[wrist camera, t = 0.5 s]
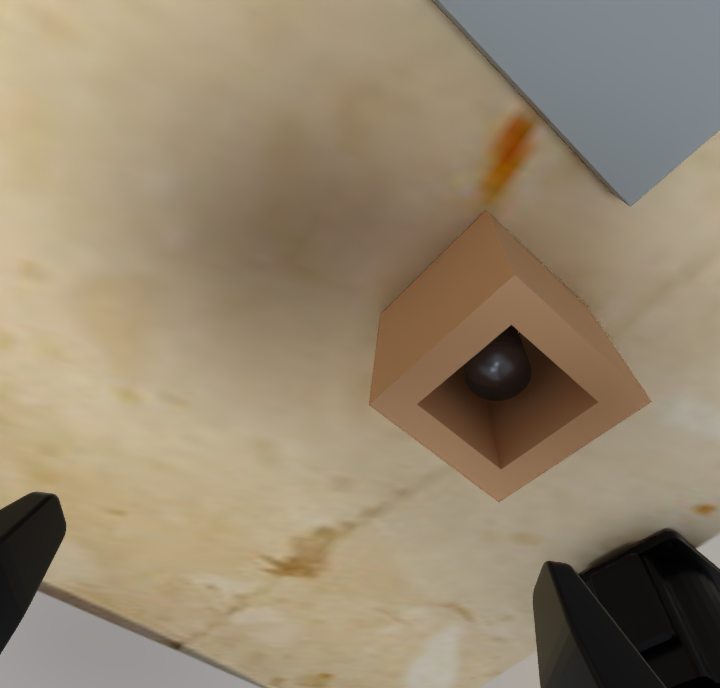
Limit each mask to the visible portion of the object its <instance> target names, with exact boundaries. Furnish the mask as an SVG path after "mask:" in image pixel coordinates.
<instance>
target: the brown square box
mask: <svg viewBox="0 0 720 688" xmlns="http://www.w3.org/2000/svg"><path fill="white" fill-rule="evenodd" d="M511 325H512V326H513V327H515V328H516V329H517V330H518V331H519V332H520V333H521V334H519V336H520V339H521V341H522V344H523V347H524V349H525V352H526V355H527V358H528V360H529V363H530V366H531V379H530V381H529V383H528V385H527V387H526V388H525V389H524V390H523V391H522V392H521V393H520V394H518V395H517V396H515V397H513V398H510V399H507V400H502V401H491V400H486V399H483V398H481V397H479V396H477V395H476V394H474V393H473V392H472V391H471V389H470V388H469V386H468V384H467V381H466V375H465V369H464V364H465V363H466V362H468V361H469V360H470V359H471V358H472V357H474V356H475V355H476V354H477V353H478V352H480V351H481V350H482V349H483V348H484V347H486V346H487V345H488V344H489V343H490V342H491V341H493V340H494V339H495V338H496V337H497V336H499V335H500V334H501V333H502V332H503V331H505V330H506V329H507V328H508V327H509V326H511ZM650 402H652V401H651V400H650V398H649V397H648V396H647V394H646V393H645V391H644V390H643V388H642V387H641V385H640V384H639V382H638V381H637V379H636V378H635V376H634V375H633V373H632V372H631V370H630V369H629V367H628V366H627V365H626V363H625V362H624V360H623V359H622V357H621V356H620V354H619V353H618V351H617V350H616V348H615V347H614V345H613V344H612V342H611V341H610V339H609V338H608V337H607V335H606V334H605V332H604V331H603V329H602V328H601V326H600V325H599V323H598V322H597V320H596V319H595V317H594V316H593V314H592V313H591V311H590V310H589V308H588V307H587V306H585V305H584V304H583V303H582V302H581V301H580V300H579V299H578V298H577V297H576V296H575V295H574V294H573V293H572V292H571V291H570V290H569V289H568V288H567V287H566V286H565V285H564V284H562V283H561V282H560V281H559V280H558V279H557V278H556V277H555V276H554V275H553V274H552V273H551V272H550V271H549V270H548V269H547V268H546V267H545V266H544V265H543V264H542V263H541V262H540V261H538V260H537V259H536V258H535V257H534V256H533V255H532V254H531V253H530V252H529V251H528V250H527V249H526V248H525V247H524V246H523V245H522V244H521V243H520V242H519V241H518V240H517V239H516V238H514V237H513V236H512V235H511V234H510V233H509V232H508V231H507V230H506V229H505V228H504V227H503V226H502V225H501V224H500V223H499V222H498V221H497V220H496V219H495V218H494V217H493V216H491V215H490V214H489V213H488V212H487V211H485V212H484V213H483V214H481V215H480V216H479V217H478V218H477V219H476V220H475V221H474V222H473V223H472V224H471V225H470V226H469V227H468V228H467V229H466V230H465V231H464V232H463V233H462V234H461V235H460V236H459V237H458V238H457V239H456V240H455V241H454V242H453V243H452V244H451V245H450V246H449V247H448V248H447V249H446V250H445V251H444V252H443V253H442V254H441V255H440V256H439V257H438V258H437V259H436V260H435V261H434V262H433V263H432V264H431V265H430V266H429V267H428V268H427V269H426V270H425V271H424V272H423V273H422V274H421V275H420V276H419V277H418V278H417V279H416V280H415V281H414V282H413V283H412V284H411V285H410V286H409V287H408V288H407V289H406V290H405V291H404V292H403V293H402V294H401V295H400V296H399V297H398V298H397V299H396V300H395V301H394V302H393V303H392V304H391V305H390V306H389V307H388V308H387V309H386V310H385V311H384V312H383V313H382V314H381V315H380V321H379V329H378V337H377V345H376V353H375V361H374V368H373V376H372V384H371V392H370V400H369V405H370V406H371V407H373V408H374V409H375V410H377V411H378V412H379V413H381V414H382V415H383V416H385V417H386V418H387V419H389V420H390V421H391V422H393V423H394V424H395V425H397V426H398V427H399V428H401V429H402V430H403V431H405V432H406V433H407V434H409V435H410V436H411V437H413V438H414V439H415V440H417V441H418V442H419V443H421V444H422V445H423V446H425V447H426V448H427V449H429V450H430V451H431V452H432V453H434V454H435V455H436V456H438V457H439V458H440V459H442V460H443V461H444V462H446V463H447V464H448V465H450V466H451V467H452V468H454V469H455V470H456V471H458V472H459V473H460V474H462V475H463V476H464V477H466V478H467V479H468V480H470V481H471V482H472V483H474V484H475V485H476V486H478V487H479V488H480V489H482V490H483V491H484V492H486V493H487V494H488V495H490V496H491V497H492V498H494V499H495V500H496V501H498V502H500V501H501V500H503V499H504V498H506V497H507V496H509V495H510V494H512V493H513V492H515V491H517V490H518V489H520V488H521V487H523V486H524V485H526V484H527V483H529V482H530V481H532V480H533V479H535V478H536V477H538V476H539V475H541V474H542V473H544V472H545V471H547V470H548V469H550V468H551V467H553V466H554V465H556V464H558V463H559V462H561V461H562V460H564V459H565V458H567V457H568V456H570V455H571V454H573V453H574V452H576V451H577V450H579V449H580V448H582V447H583V446H585V445H586V444H588V443H589V442H591V441H592V440H594V439H596V438H597V437H599V436H600V435H602V434H603V433H605V432H606V431H608V430H609V429H611V428H612V427H614V426H615V425H617V424H618V423H620V422H621V421H623V420H624V419H626V418H627V417H629V416H630V415H632V414H633V413H635V412H637V411H638V410H640V409H641V408H643V407H644V406H646V405H647V404H649V403H650Z"/></svg>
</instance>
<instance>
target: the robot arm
mask: <svg viewBox="0 0 720 688" xmlns="http://www.w3.org/2000/svg"><path fill="white" fill-rule="evenodd" d="M65 532H66V521H65V518H64V514H63V511H62V508H61V504H60V501H59V498H58V497H57V496H56V495H55V494H51V493H44V492H32V493H30V494H27V495H26V496H24V497H22V498H20V499H19V500H17V501H15V502H13V503H11V504H10V505H8V506H6V507H4V508H2V509H1V510H0V654H1V652H2V651H3V649H4V647H5V646H6V644H7V643H8V641H9V640H10V638H11V636H12V635H13V633H14V632H15V630H16V628H17V627H18V625H19V623H20V622H21V620H22V618H23V617H24V614H25V613H26V611H27V609H28V607H29V605H30V604H31V602H32V600H33V597H34V596H35V594H36V592H37V590H38V588H39V586H40V584H41V582H42V580H43V578H44V576H45V574H46V572H47V570H48V568H49V566H50V564H51V562H52V560H53V558H54V556H55V554H56V552H57V550H58V548H59V546H60V544H61V542H62V540H63V538H64V536H65ZM533 610H534V621H535V632H536V643H537V654H538V664H539V676H540V685H541V688H720V569H719V568H718V567H717V566H715V565H714V564H713V563H712V562H710V561H709V560H708V559H707V558H706V557H705V556H703V555H702V554H701V553H700V552H698V551H697V550H696V549H695V548H694V547H693V546H692V545H690V544H689V543H688V542H687V541H686V540H684V539H683V538H682V537H681V536H680V535H678V534H677V533H675V532H664V533H662V534H660V535H658V536H656V537H654V538H652V539H650V540H648V541H647V542H645V543H643V544H641V545H639V546H637V547H635V548H633V549H632V550H630V551H628V552H626V553H624V554H622V555H620V556H618V557H616V558H615V559H613V560H611V561H609V562H607V563H605V564H603V565H601V566H599V567H598V568H596V569H594V570H592V571H590V572H588V573H586V574H584V575H582V576H581V577H579V575H578V574H577V573H576V571H575V570H574V569H573V568H572V567H571V566H570V565H569V564H566V563H561V562H553V561H546V562H545V563H544V564H543V566H542V569H541V572H540V574H539V577H538V580H537V583H536V585H535V588H534V592H533Z"/></svg>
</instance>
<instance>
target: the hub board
mask: <svg viewBox="0 0 720 688" xmlns="http://www.w3.org/2000/svg"><path fill="white" fill-rule="evenodd" d="M432 1H433V2H434V3H435V4H436V5H437V6H438V7H439V8H440V9H441V10H442V11H443V12H444V13H445V14H446V16H447V17H448V18H449V19H450V20H451V21H452V22H453V23H454V24H455V25H456V26H457V27H458V28H459V29H460V30H461V32H462V33H463V34H464V35H465V36H466V37H467V38H468V39H469V40H470V41H471V42H472V43H473V44H474V45H475V47H476V48H477V49H478V50H479V51H480V52H481V53H482V54H483V55H484V56H485V57H486V58H487V59H488V60H489V62H490V63H491V64H492V65H493V66H494V67H495V68H496V69H497V70H498V71H499V72H500V73H501V74H502V75H503V76H504V78H505V79H506V80H507V81H508V82H509V83H510V84H511V85H512V86H513V87H514V88H515V89H516V90H517V91H518V93H519V94H520V95H521V96H522V97H523V98H524V99H525V100H526V101H527V102H528V103H529V104H530V105H531V106H532V107H533V109H534V110H535V111H536V112H537V113H538V114H539V115H540V116H541V117H542V118H543V119H544V120H545V121H546V122H547V124H548V125H549V126H550V127H551V128H552V129H553V130H554V131H555V132H556V133H557V134H558V135H559V136H560V137H561V138H562V140H563V141H564V142H565V143H566V144H567V145H568V146H569V147H570V148H571V149H572V150H573V151H574V152H575V153H576V155H577V156H578V157H579V158H580V159H581V160H582V161H583V162H584V163H585V164H586V165H587V166H588V167H589V168H590V170H591V171H592V172H593V173H594V174H595V175H596V176H597V177H598V178H599V179H600V180H601V181H602V182H603V183H604V184H605V186H606V187H607V188H608V189H609V190H610V191H611V192H612V193H613V194H614V195H615V196H616V197H618V198H619V199H621V200H622V201H623V202H625V203H626V204H628V205H629V206H632V205H633V204H634V203H635V202H636V201H637V200H639V199H640V198H641V197H642V196H643V195H644V194H646V193H647V192H648V191H649V190H650V189H651V188H653V187H654V186H655V185H656V184H657V183H658V182H660V181H661V180H662V179H663V178H664V177H665V176H667V175H668V174H669V173H670V172H671V171H672V170H674V169H675V168H676V167H677V166H678V165H679V164H681V163H682V162H683V161H684V160H685V159H686V158H687V157H689V156H690V155H691V154H692V153H693V152H694V151H696V150H697V149H698V148H699V147H700V146H701V145H703V144H704V143H705V142H706V141H707V140H708V139H710V138H711V137H712V136H713V135H714V134H715V133H717V132H718V131H719V130H720V0H432Z"/></svg>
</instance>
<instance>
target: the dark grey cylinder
mask: <svg viewBox="0 0 720 688" xmlns="http://www.w3.org/2000/svg"><path fill="white" fill-rule="evenodd" d="M464 369H465V375H466V381H467V384H468V386H469V388H470V389H471V391H472V392H473V393H474V394H476V395H477V396H479V397H481V398H483V399H486V400H491V401H502V400H507V399H510V398H513V397H515V396H517V395H518V394H520V393H521V392H522V391H523V390H524V389H525V388H526V387H527V385H528V383H529V381H530V379H531V366H530V363H529V360H528V358H527V355H526V352H525V349H524V347H523V344H522V341H521V339H520V336H519V333H518V331H517V329H516V328H515V327H513V326H512V325H511V326H509V327H508V328H507V329H506V330H505V331H503V332H502V333H501V334H500V335H499V336H497V337H496V338H495V339H494V340H493V341H491V342H490V343H489V344H488V345H487V346H486V347H484V348H483V349H482V350H481V351H480V352H478V353H477V354H476V355H475V356H474V357H472V358H471V359H470V360H469V361H468V362H466V363H465V364H464Z"/></svg>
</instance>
